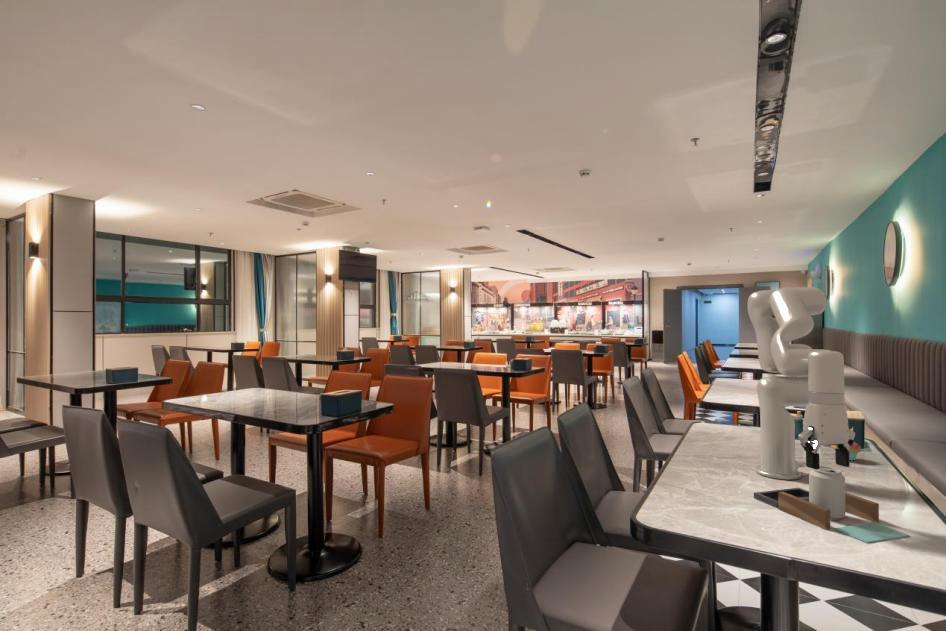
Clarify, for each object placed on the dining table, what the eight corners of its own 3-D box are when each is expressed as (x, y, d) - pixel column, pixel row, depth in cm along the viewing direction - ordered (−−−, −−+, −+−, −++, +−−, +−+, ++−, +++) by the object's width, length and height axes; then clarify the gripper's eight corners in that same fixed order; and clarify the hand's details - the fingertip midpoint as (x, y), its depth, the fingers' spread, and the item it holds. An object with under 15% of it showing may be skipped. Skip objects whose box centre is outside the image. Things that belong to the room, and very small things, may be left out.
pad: (875, 523, 121) (875, 522, 121) (909, 536, 113) (909, 535, 113) (834, 529, 117) (834, 528, 117) (866, 543, 110) (866, 541, 110)
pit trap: (798, 492, 142) (798, 487, 142) (823, 501, 135) (823, 496, 135) (753, 498, 138) (753, 492, 138) (776, 507, 131) (776, 502, 131)
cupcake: (859, 458, 177) (859, 425, 178) (862, 464, 170) (862, 429, 170) (830, 455, 182) (830, 422, 182) (832, 460, 175) (831, 426, 175)
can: (847, 523, 120) (846, 474, 121) (810, 517, 124) (809, 469, 125) (843, 513, 127) (843, 467, 127) (808, 507, 131) (808, 462, 131)
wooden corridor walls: (828, 503, 134) (828, 486, 134) (879, 521, 122) (878, 503, 122) (778, 509, 130) (778, 492, 130) (825, 529, 117) (825, 510, 117)
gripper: (838, 396, 132) (839, 461, 131) (786, 398, 127) (787, 465, 126) (867, 400, 124) (868, 468, 124) (813, 402, 120) (814, 473, 119)
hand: (827, 466), depth 125 cm, fingers open, 9 cm apart
